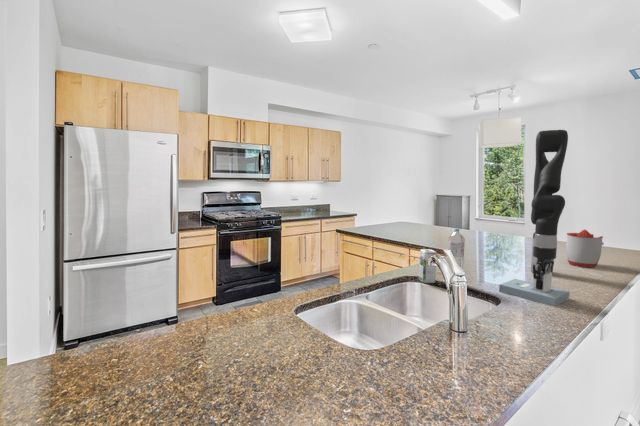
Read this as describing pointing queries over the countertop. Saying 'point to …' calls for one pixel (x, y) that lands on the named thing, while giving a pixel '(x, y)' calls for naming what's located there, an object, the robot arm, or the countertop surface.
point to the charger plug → (544, 283)
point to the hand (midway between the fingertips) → (541, 287)
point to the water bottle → (457, 247)
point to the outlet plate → (534, 292)
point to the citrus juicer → (583, 249)
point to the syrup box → (426, 266)
